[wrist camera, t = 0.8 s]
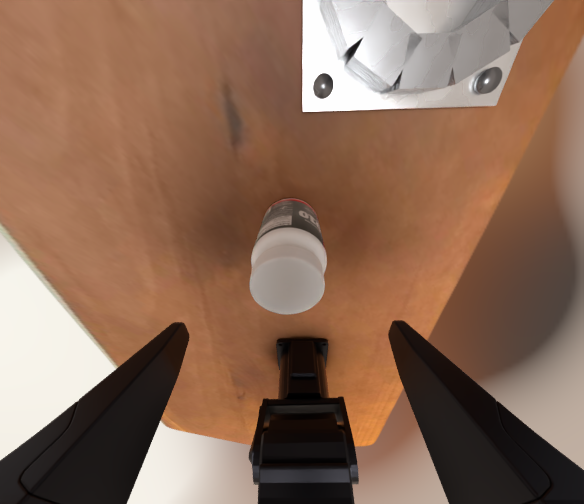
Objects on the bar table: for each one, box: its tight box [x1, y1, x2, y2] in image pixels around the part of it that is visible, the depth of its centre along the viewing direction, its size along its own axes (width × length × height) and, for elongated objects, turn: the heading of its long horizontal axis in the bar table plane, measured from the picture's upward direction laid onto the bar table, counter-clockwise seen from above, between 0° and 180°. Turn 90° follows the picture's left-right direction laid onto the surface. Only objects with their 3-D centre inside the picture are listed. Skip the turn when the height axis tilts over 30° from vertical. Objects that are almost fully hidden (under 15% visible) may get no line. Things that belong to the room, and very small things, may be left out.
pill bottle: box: [249, 198, 327, 314], centre depth 14 cm, size 5×5×8 cm
